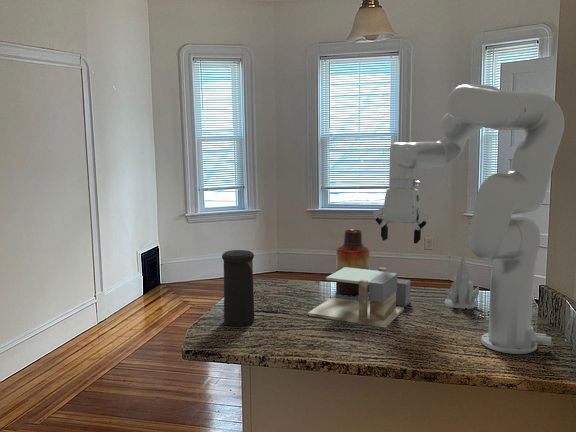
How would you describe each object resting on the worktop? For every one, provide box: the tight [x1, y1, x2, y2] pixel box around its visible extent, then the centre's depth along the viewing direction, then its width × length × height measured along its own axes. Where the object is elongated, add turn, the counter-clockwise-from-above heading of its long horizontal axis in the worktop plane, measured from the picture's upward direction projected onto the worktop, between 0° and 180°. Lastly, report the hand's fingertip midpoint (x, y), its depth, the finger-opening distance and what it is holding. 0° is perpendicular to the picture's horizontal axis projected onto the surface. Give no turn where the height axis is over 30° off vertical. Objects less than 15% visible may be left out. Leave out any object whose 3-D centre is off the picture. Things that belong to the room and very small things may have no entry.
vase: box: [335, 229, 371, 297], centre depth 181 cm, size 11×11×20 cm
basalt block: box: [396, 278, 412, 307], centre depth 169 cm, size 5×5×7 cm
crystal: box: [444, 256, 480, 310], centre depth 168 cm, size 10×13×15 cm
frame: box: [307, 267, 405, 328], centre depth 160 cm, size 23×18×12 cm
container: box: [221, 249, 255, 327], centre depth 152 cm, size 9×9×20 cm
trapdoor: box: [325, 267, 398, 302], centre depth 158 cm, size 16×14×5 cm
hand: (400, 241), depth 167 cm, fingers open, 9 cm apart
